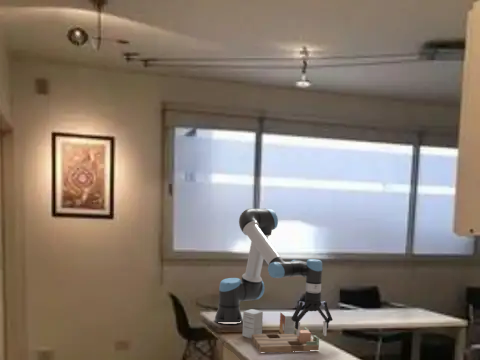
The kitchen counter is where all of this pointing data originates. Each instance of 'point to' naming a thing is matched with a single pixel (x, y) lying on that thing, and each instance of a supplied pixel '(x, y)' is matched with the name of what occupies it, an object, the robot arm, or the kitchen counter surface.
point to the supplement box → (252, 322)
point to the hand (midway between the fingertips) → (311, 335)
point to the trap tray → (283, 342)
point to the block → (304, 335)
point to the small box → (286, 323)
